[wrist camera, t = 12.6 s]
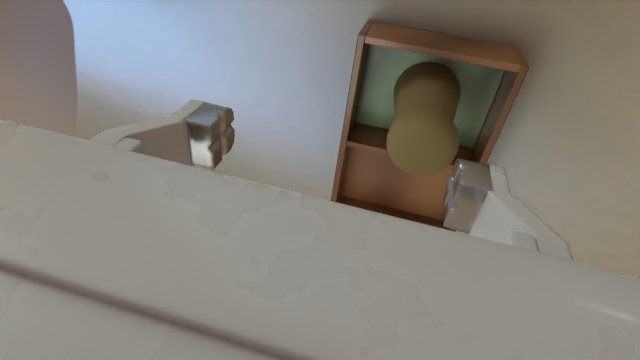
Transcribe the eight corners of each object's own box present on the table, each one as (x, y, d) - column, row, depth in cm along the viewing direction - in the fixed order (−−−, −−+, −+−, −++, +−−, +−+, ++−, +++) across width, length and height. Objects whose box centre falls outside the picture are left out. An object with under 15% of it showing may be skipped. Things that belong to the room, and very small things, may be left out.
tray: (519, 47, 33) (529, 66, 29) (446, 221, 45) (447, 250, 41) (367, 19, 34) (358, 34, 31) (337, 193, 47) (327, 219, 43)
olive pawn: (470, 108, 36) (479, 174, 27) (409, 131, 38) (399, 198, 30) (445, 49, 33) (446, 100, 25) (382, 79, 36) (363, 134, 27)
